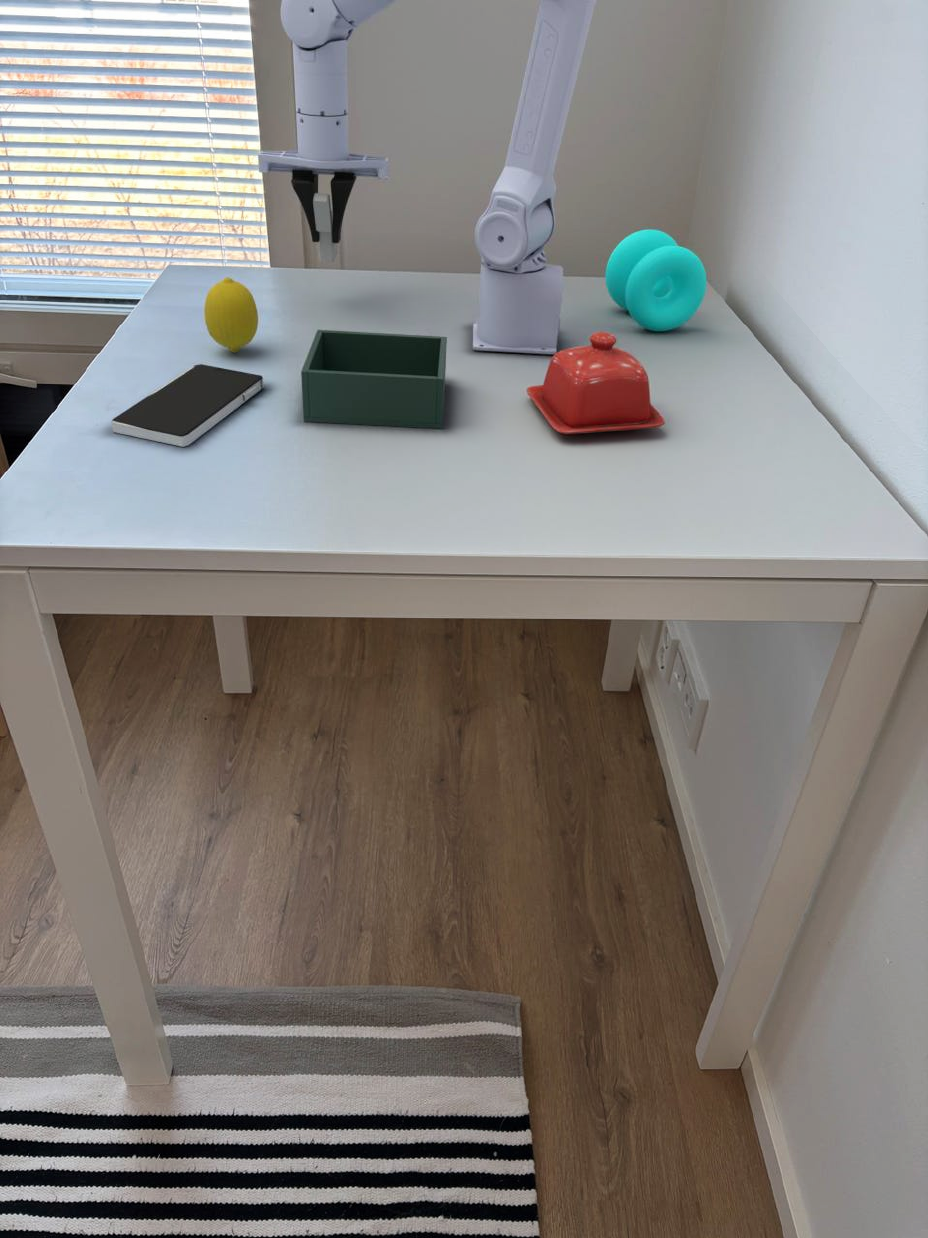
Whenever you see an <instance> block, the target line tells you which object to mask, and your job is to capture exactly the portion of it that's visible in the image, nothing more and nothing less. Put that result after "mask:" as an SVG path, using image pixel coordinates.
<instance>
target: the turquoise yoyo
mask: <svg viewBox="0 0 928 1238" xmlns="http://www.w3.org/2000/svg"><path fill="white" fill-rule="evenodd" d="M605 286H606V289H607V292H608V294H609V296H610V298H611V299H612V300H613V302H614V303H616V305H617V306H619V307H620V308H622V309H623V310H626V311H628V313H629V315H630V317H631V318H632V319H633V321H634V322H635V323H636V324H638V325H639V326H640V327H642V328H644V329H645V330H649V331H653V332H666V331H671V330H675V329H676V328H678V327H680V326H682V325H683V324H685V323H686V322H687V321H689V320H690V319H691V318H693V316H694V315H695V314H696V313H697V312H698V309H699V308H700V307H701V305H702V302H703V300H704V298H705V295H706V290H707V273H706V270H705V266H704V264H703V262H702V261H701V259H700V257H699V256H698V255H697V254H696V253H694V252H693V251H692V250H690V249H688V248H686V247H683V246H680V245H678V243H677V241H676V240H675V239H674V238H673V237H672V236H670V235H669V234H668V233H666V232H664V231H662V230H659V229H642V230H638V231H636V232H633V233H631V234H629V235H628V236H626V237H624V238H623V239H622V240H621V241H620V242H619V243H618V244H617V245H616V247H615V248H614V249H613V251H612V252H611V254H610V257H609V259H608V261H607V264H606V267H605Z"/></svg>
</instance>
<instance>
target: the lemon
mask: <svg viewBox="0 0 928 1238" xmlns="http://www.w3.org/2000/svg"><path fill="white" fill-rule="evenodd" d="M206 294H207V295H206V298H205V300H204V301H205V302H204V309H203V310H204V312H203V313H204V321H205V325H206V326H205V327H206V329H207V331H208V334H209V336H210V337H211V338H212V340H214V342H215V343H217V344H218V345H220V346H222V347H224V348H227V349H228V350H229V351H230V352H231V353H238V352H239V351H240V350H241V348H242V347H246V346H247V345H248V344H250V343H251V342H252V341H253V339H254V338H255V336H256V334H257V331H258V325H259V315H258V308H257V305H256V301H255V298H254V296H253V294H252V293H251V291H250V290H249V289H248V287H246V286H245V285H244V284H242V283H241V282H240V281H239V282H238V281H236V280H233V278H232V277H224V279H223V280H221V281H219V282H217V283H215V284H214V285H213V286H212V287H211V288H210V289H209V290H208V292H207V293H206Z"/></svg>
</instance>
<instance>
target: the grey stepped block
mask: <svg viewBox="0 0 928 1238" xmlns="http://www.w3.org/2000/svg"><path fill="white" fill-rule="evenodd" d="M313 206H314V214H315V223H316V230H317V231H318V235H319V242H318V261H319V262H322V263H325V262H326V263H334V262H335V260H336V259H337V256H338V254H339V251H338V250H339V249H338V247H339V246H338V243H333V241H332V224H333V210H332V202H331V196H330V194H329V193H325V192H323V193H322V192H321V193H320V192H318V193H315V194H314V200H313Z"/></svg>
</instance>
